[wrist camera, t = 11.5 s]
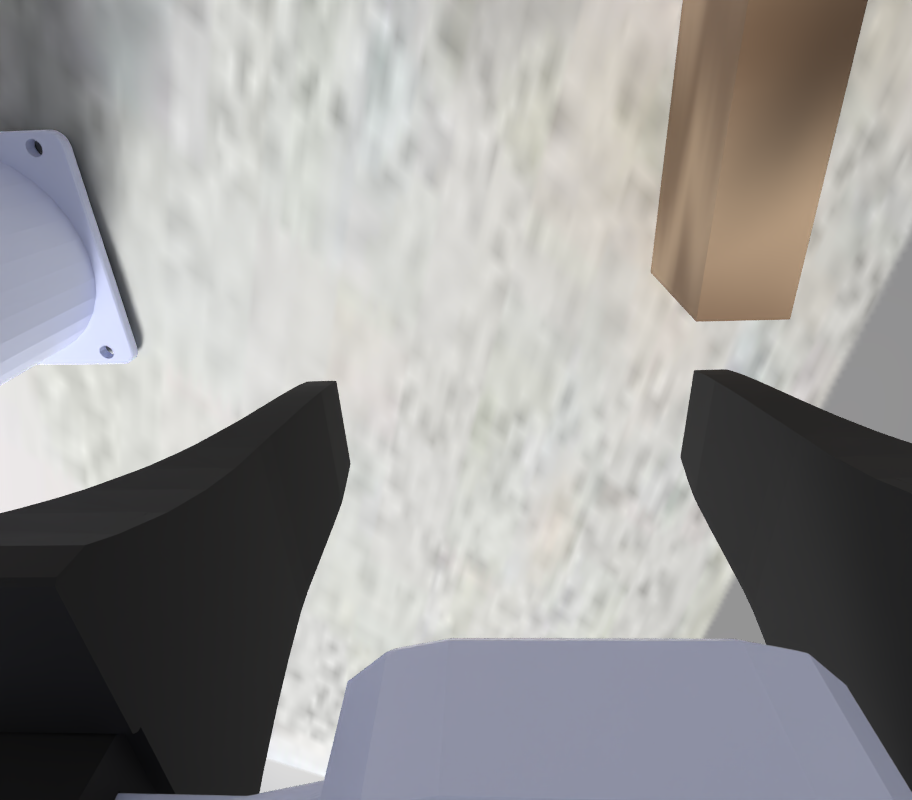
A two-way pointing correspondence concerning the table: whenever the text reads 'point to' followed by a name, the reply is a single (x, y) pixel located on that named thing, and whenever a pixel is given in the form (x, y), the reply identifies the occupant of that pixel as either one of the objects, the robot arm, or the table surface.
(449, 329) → the table surface
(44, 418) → the table surface
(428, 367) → the table surface
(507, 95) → the table surface
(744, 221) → the bar
